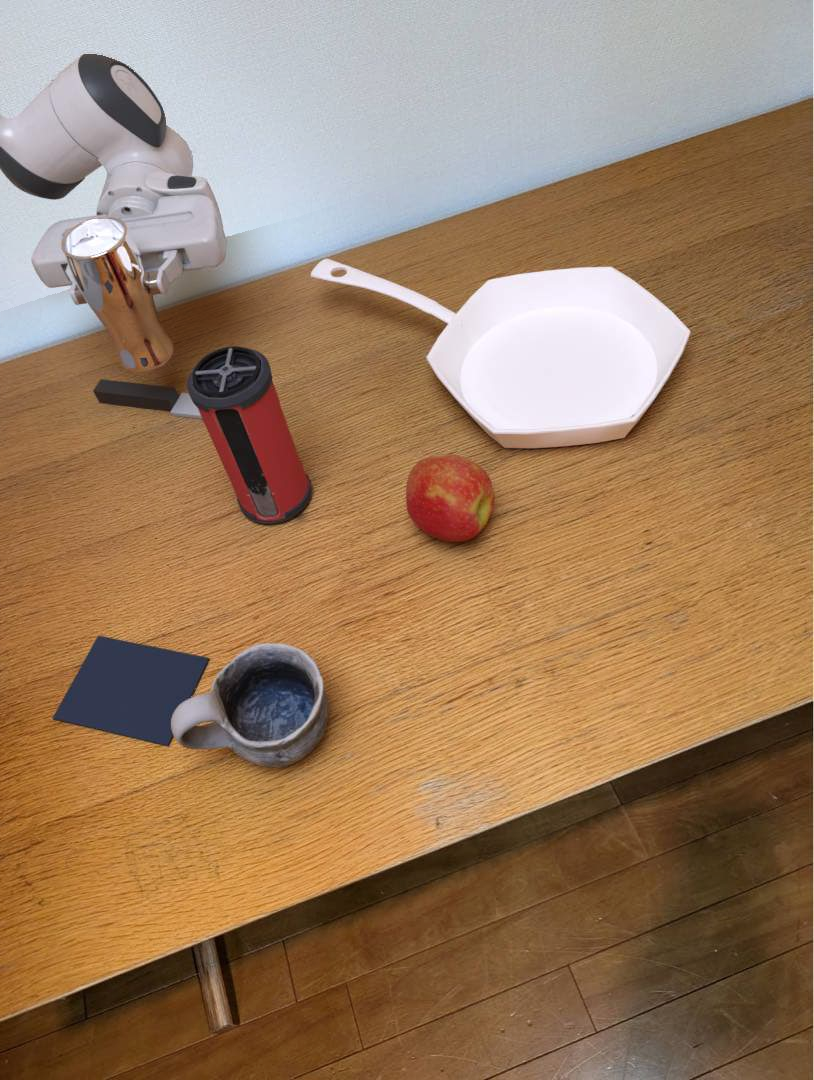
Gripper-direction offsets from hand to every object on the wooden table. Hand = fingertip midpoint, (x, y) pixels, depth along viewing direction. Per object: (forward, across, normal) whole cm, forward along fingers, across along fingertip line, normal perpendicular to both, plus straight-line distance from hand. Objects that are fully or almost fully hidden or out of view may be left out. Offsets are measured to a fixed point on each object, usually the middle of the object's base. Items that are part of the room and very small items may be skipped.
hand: (118, 294), depth 100 cm
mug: (+43, +15, +17) cm, 48 cm away
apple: (+20, +32, +17) cm, 41 cm away
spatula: (-1, -2, +17) cm, 17 cm away
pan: (-3, +36, +17) cm, 40 cm away
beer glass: (-1, 0, +9) cm, 9 cm away
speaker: (+15, +13, +17) cm, 26 cm away
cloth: (+36, +2, +17) cm, 40 cm away
